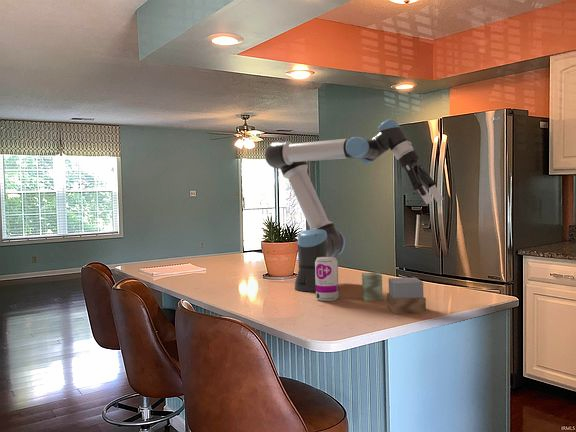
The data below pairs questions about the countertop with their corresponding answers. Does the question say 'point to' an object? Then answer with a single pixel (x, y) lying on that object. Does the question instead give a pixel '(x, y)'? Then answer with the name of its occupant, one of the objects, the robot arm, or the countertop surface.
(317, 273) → the supplement can
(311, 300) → the countertop surface
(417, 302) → the tower base
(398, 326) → the countertop surface
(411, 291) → the block
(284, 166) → the robot arm
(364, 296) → the pillar block
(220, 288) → the countertop surface
